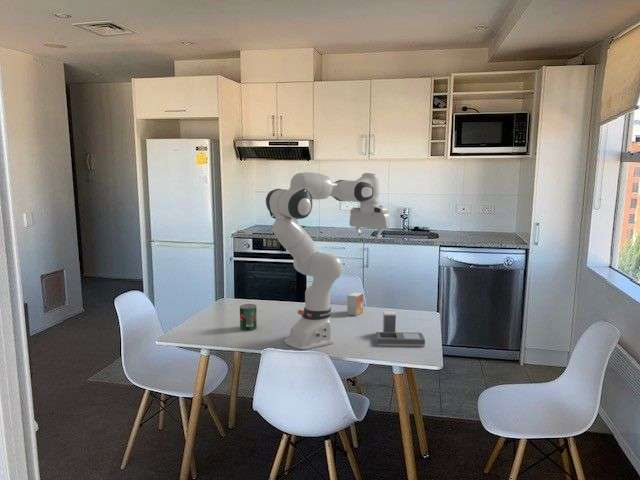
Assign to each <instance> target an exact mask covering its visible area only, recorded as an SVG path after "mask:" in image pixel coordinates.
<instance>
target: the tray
mask: <svg viewBox="0 0 640 480" xmlns="http://www.w3.org/2000/svg"><path fill="white" fill-rule="evenodd" d="M376 332H383V329H377V330H376ZM395 332H400V331H399V330H398V329H397V330H396V329H395Z"/></svg>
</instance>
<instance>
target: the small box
mask: <svg viewBox="0 0 640 480" xmlns="http://www.w3.org/2000/svg"><path fill="white" fill-rule="evenodd" d="M346 298H347V302H346V303H347V305H346V307H347V309H346V311H347V313H346V314H347V315H348V316H355V317H358V315H361V314H363V313H364V293H362V292H356V291H354V292H352V293H350V294H348V295H347V297H346Z"/></svg>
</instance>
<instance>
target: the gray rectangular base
mask: <svg viewBox="0 0 640 480" xmlns="http://www.w3.org/2000/svg"><path fill="white" fill-rule="evenodd" d="M375 340H376V345H377V346H378V347H379V346H380V347H426V346H425V344H426V339H425V337H424V335H423V333H422V332H404V331H402V332H400V331H399V332H377V331H376V333H375Z"/></svg>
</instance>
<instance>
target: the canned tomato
mask: <svg viewBox="0 0 640 480" xmlns="http://www.w3.org/2000/svg"><path fill="white" fill-rule="evenodd" d="M239 326H240V327H239V330H240V331H242V332H252V331H253V332H254V331H255V330H257V328H258V325H257V305H256V304H254V303H245V304H243V303H242V304H241V305H240V306H239Z"/></svg>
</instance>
